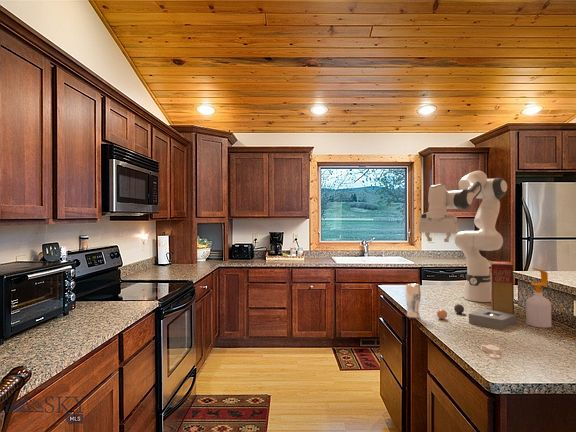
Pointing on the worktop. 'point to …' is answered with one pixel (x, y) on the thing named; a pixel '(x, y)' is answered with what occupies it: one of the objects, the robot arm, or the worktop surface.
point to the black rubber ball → (459, 308)
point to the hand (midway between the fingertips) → (437, 241)
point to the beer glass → (413, 300)
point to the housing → (492, 319)
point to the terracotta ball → (441, 314)
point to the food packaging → (502, 287)
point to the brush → (491, 350)
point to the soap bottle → (539, 305)
